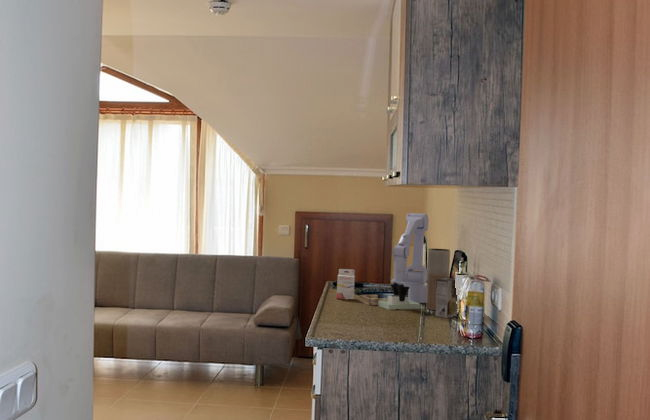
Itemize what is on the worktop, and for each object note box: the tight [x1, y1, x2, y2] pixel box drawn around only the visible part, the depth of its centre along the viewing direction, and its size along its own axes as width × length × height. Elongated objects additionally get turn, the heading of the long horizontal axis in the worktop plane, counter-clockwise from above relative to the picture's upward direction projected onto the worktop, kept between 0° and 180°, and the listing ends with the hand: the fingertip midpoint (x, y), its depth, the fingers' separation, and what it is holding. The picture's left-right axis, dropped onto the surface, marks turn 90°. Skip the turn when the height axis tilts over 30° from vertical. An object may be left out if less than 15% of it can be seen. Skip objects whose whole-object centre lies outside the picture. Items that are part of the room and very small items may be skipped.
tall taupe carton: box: [425, 248, 451, 311], centre depth 292 cm, size 10×10×28 cm
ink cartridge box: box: [336, 268, 356, 300], centre depth 316 cm, size 9×5×15 cm, turn 84°
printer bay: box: [358, 294, 388, 306], centre depth 305 cm, size 10×13×3 cm
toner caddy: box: [387, 294, 408, 304], centre depth 294 cm, size 8×5×5 cm, turn 109°
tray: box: [377, 300, 422, 311], centre depth 294 cm, size 16×12×2 cm
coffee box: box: [434, 277, 457, 319], centre depth 274 cm, size 9×6×16 cm
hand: (399, 300), depth 294 cm, fingers closed on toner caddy, 5 cm apart
